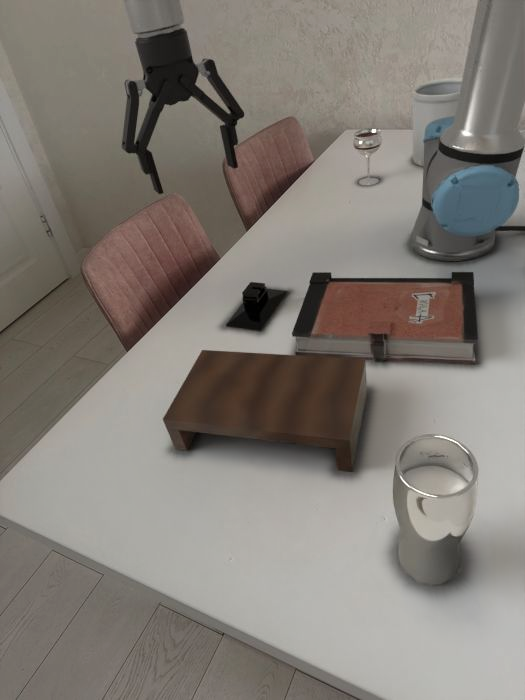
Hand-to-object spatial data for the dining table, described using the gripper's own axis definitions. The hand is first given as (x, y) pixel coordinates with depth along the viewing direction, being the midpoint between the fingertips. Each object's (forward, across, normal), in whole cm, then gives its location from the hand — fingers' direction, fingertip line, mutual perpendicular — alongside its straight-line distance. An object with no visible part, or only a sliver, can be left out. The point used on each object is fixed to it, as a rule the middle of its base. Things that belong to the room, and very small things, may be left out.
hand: (196, 178), depth 84 cm
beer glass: (+23, +4, +62) cm, 66 cm away
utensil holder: (+23, -72, -20) cm, 78 cm away
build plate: (+23, -2, +10) cm, 25 cm away
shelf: (+22, +8, +36) cm, 43 cm away
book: (+23, -16, +29) cm, 40 cm away
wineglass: (+23, -51, -22) cm, 60 cm away
